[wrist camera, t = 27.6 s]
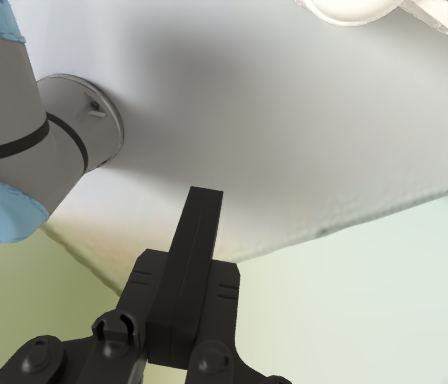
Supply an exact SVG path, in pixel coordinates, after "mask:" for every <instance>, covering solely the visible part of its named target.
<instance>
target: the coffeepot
mask: <svg viewBox="0 0 448 384" xmlns="http://www.w3.org/2000/svg"><path fill="white" fill-rule="evenodd" d="M294 1H295V2H296V3H298V4H299V5H301V6H302V7H304V8H306V9H308V10H310V11H312V12H313V13H314V14H315V15H316V16H317V17H318V18H320V19H322V20H323V21H325V22H327V23H330V24H333V25H337V26H345V27H351V26H359V25H363V24H367V23H370V22H373V21H375V20H377V19H379V18H381V17H383V16H385V15H386V14H388V13H389V12H391V11H392V10H393V9H395V8H396V7H397V6H399V7H400V8H402V9H403V10H405V11H407V12H408V13H410V14H411V15H413V16H415V17H416V18H418V19H419V20H421V21H423V22H424V23H426V24H428V25H430V26H431V27H433V28H435V29H437V30H438V31H440V32H442V33H444V34H446V35H448V2H447V1H446V0H294Z"/></svg>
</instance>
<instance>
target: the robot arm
mask: <svg viewBox="0 0 448 384" xmlns="http://www.w3.org/2000/svg"><path fill="white" fill-rule="evenodd" d="M24 43H26V41H25V38H24V37H23V36H22V35H21V33H20V30H19V28H18V25H17V23H16V20H15V17H14V14H13V12H12V9H11V6H10V4H9V2H8V0H0V243H14V242H19V241H22V240H24V239H26V238H27V237H29V236H30V235H32V234H33V232H35V231H36V229H37V228H38V227H39V226H40V225H41V224H43V223H44V222H46V221H47V220H48V219H49V217H50V215H51V214H52V213H53V212H54V210H55V209H56V208H57V207H58V205H59V204H60V203H61V202H62V200H63V199H64V198H65V197H66V196H67V194H68V193H69V192H70V191H71V189H72V188H73V187H74V186H75V184H76V183H77V182H78V181H79V179H80V178H81V177H82V176H83V175H84V174H85V173H87V172H90V171H92V170H94V169H95V168H98V167H100V166H102V165H104V164H106V163H108V162H109V161H110V160H111V159H112V158H113V157H114V156H115V155H116V154H117V152H118V151H119V149H120V147H121V145H122V142H123V136H124V130H123V124H122V121H121V118H120V115H119V113H118V111H117V109H116V108H115V106H114V105H113V103H112V102H111V101H110V99H109V98H108V97H107V96H106V95H105V94H104V93H103V92H102V91H101V90H99V89H98V88H97V87H96V86H94V85H93V84H91V83H89V82H88V81H86V80H84V79H81V78H79V77H76V76H72V75H67V74H53V75H49V76H46V77H44V78H42V79H41V80H39V81H37V82H36V80H35V77H34V73H33V70H32V67H31V63H30V60H29V57H28V53H27V50H26V47H25V44H24ZM223 192H224V191H218V190H212V189H206V188H200V187H194V186H191V188H190V191H189V194H188V197H187V200H186V202H185V205H184V208H183V211H182V214H181V217H180V220H179V223H178V226H177V229H176V232H175V235H174V238H173V241H172V244H171V247H170V250H169V252H163V251H158V250H152V249H146V250H145V251H144V252H143V253H142V254H141V255H140V256H139V257H138V258H137V260H136V263H135V265H134V267H133V270H132V272H131V274H130V276H129V279H128V282H127V283H126V286H125V288H124V290H123V293H122V295H121V297H120V299H119V302H118V304H117V306H116V309H115V310H111V311H109V312H106V313H104V314H103V315H101V316H100V317H99V318H97V319H96V321H95V322H94V324H93V325H92V326H91V328H92V331H93V335H92V336H90V337H86V338H82V339H76V340H69V341H63V342H61V341H60V340H59V339H58V338H57V337H55V336H50V335H44V336H38V337H36V338H33V339H31V340H29V341H27V342H26V343H25V344H24V345H23V346H22V347H20V348H19V349H18V350H17V352H16V353H15V354H14V355H13V356H12V357H11V358H10V359H9V360H8V361H7V363H6V364H5V365H4V366H3V367H2V368H1V369H0V384H143V372H144V369H145V365H146V362H147V359H148V363H150V364H156V365H161V366H167V367H172V368H178V369H184V370H187V375H186V380H185V384H292V383H291V382H290V381H289V380H287V379H285V378H284V377H282V376H275V375H272V376H269V377H266V376H264V375H262V374H261V373H259V372H257V371H255V370H254V369H252V368H250V367H249V366H248V365H246V364H245V363H244V362H243V361H242V360H241V358H240V357H239V355H238V353H237V351H236V347H235V330H236V319H237V307H238V297H239V285H240V273H239V270H238V268H237V264H236V263H230V262H225V261H219V260H213V259H212V257H213V252H214V247H215V241H216V236H217V230H218V224H219V217H220V211H221V205H222V198H223Z"/></svg>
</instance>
